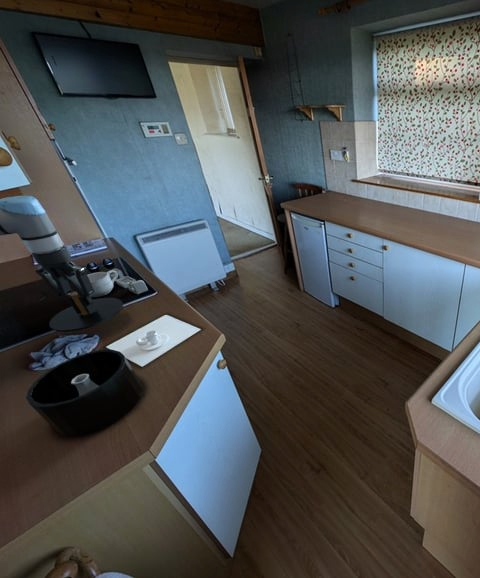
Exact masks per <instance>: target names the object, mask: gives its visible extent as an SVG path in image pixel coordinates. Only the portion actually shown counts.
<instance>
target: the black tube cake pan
mask: <svg viewBox="0 0 480 578" xmlns="http://www.w3.org/2000/svg"><path fill="white" fill-rule="evenodd" d="M82 374H89V379H90V380H91V381H92V382H94V383H95V384H96V385H98V386H99V387H97V388H95V389H93V390H91V391H90V392H88V393H86V394H84V395H81V396H79V392H78V390H77V387H76V386H75V385H73V384H71V382H72V379H74V378H75V377H76V376H78V375H82ZM143 392H144V386H143V383H142V382H141V380H140V378H139V377H138V375H137V373H136V372H135V371H134V369H133V367H132V365H131V364H130V362H129V361H128V359H127V358H125V356H124V355H123V354H122V353H121V352H119V351H115V350H110V349H99V350H93V351H88V352H85V353H83V354H79V355H76V356H73V357H71V358H69V359H67V360H65V361H63V362H61V363H59V364H56V365H55V366H54V367H52V368H50V369H49V370H47V371H46V372H44V373H43V374H42V375H40V376H39V377H38V378H37V379H36V380H35V381H34V382H33V383H32V385H31V386H30V387H29V388H28V389H27V393H26V396H25V399H26V401H27V402H28V404H29V405H30V406H31V407H32V408H33V409H34V410H35V412H37V413H38V415H40V416H41V418H42V419H44V420H45V422H47V424H48V425H50V427H51V428H53V430H55V432H56V433H58V434H60V435H62V436H64V437H69V438H70V437H71V438H72V437H82V436H86V435H90V434H93V433H96V432H98V431H101V430H103V429H105V428H108V427H109V426H111V425H113V424H115V423H116V422H117V421H119V420H120V419H122V418H123V417H125V416H126V415H127V414H128V413H129V412H130V411H132V409H134V407H136V405H137V404H138V403H139V401H140V399H141V398H142V396H143Z"/></svg>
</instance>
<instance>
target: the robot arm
mask: <svg viewBox="0 0 480 578" xmlns="http://www.w3.org/2000/svg"><path fill="white" fill-rule="evenodd" d="M14 234H17V236H18V237H19V238H20V240H21V241H22V243H23V244H24V245H25V247H26V249H27V251H28V252H29V253H31V256H32V258H33V259H34V261H35V262H36V264H37V265H39V266H40V268H37V269H35V270H34V272H35V273H36V274H37V275H38V276H40V277H41V278H42V279H43V281H44V282H45V283H46V284H47V286H48V287H49V289H50V290H51V291H52V292H53V293H54V295H55V296H56V297H63V298H64V299H66V301H67V303H68V304H69V305H70V306H72V307H73V308H74V310H75V311H76V313H77V314H81V311H80V310H79V308H78V307H77V305H76V304H75V302H74V300H73V299H72V297H71V296H70V294H71V293H73V292H77V293H78V294H79V296H80V297H79V300H80V302H81V303H82V305H83V306H84V308H85V310H86V311H87V313H88V314H91V313H93V312H94V311H95V310H97V309H96V307H95V306H94V304H93V300H94V299H93V297H91V296H90V294H92V293H93V292H94V289H93V287H92V284H91V282H90V280H89V278H88V276H87V275H88V274H87V273H88V272H87V267H86V266H81V267H80V266H77V265H76V264H75V263H74V262H72V259H71V258H72V255H71V253H70V251H69V250H68V248H67V247H66V246H64V245H65V243H64V241H63V240H62V239H61V237H60V235H59V233H58V232H57V230H56V228H55V226H54V224H53V223H52V221H51V219H50V217H49V216H48V214H47V211H46V210H45V208H44V207H43V206H42V205H41V203H40V201H39V200H38V199H37V198H35V197H34V196H31V195H13V196H8V197H3V198H0V236H6V235H14ZM72 288H73V290H74V291H73V290H72Z"/></svg>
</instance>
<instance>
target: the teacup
mask: <svg viewBox="0 0 480 578" xmlns="http://www.w3.org/2000/svg"><path fill="white" fill-rule="evenodd" d="M111 274H114V277H113V279H112V280H111V279H110V276H109V275H111ZM87 276H88V278H89V280H90V282H91V284H92V287H93V289H94V292H93V293H92V294H90V296H91V298H92V299H93V298H94V299H95V298H101V297H103V296H106V295H108V294H109V293H111V291H112V290H113V289H114V284H115V283H114V282H116V281H115V280H116V279H117V276H118V274H117V272H115V271H113V270H108V271H97V272H93V273H89V274H87Z"/></svg>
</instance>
